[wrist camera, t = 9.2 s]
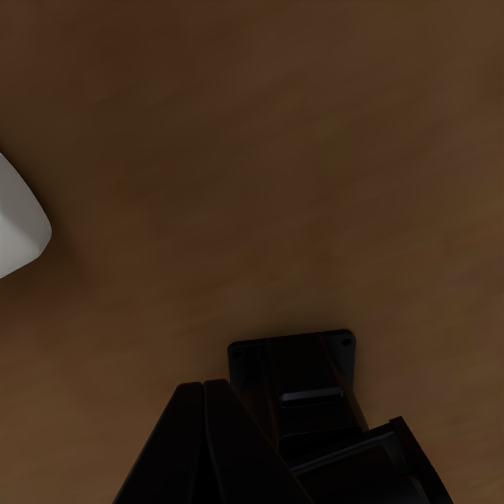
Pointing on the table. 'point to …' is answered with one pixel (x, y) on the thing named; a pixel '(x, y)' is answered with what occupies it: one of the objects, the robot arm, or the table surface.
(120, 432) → the table surface
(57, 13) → the table surface
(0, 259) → the eye dropper bottle
